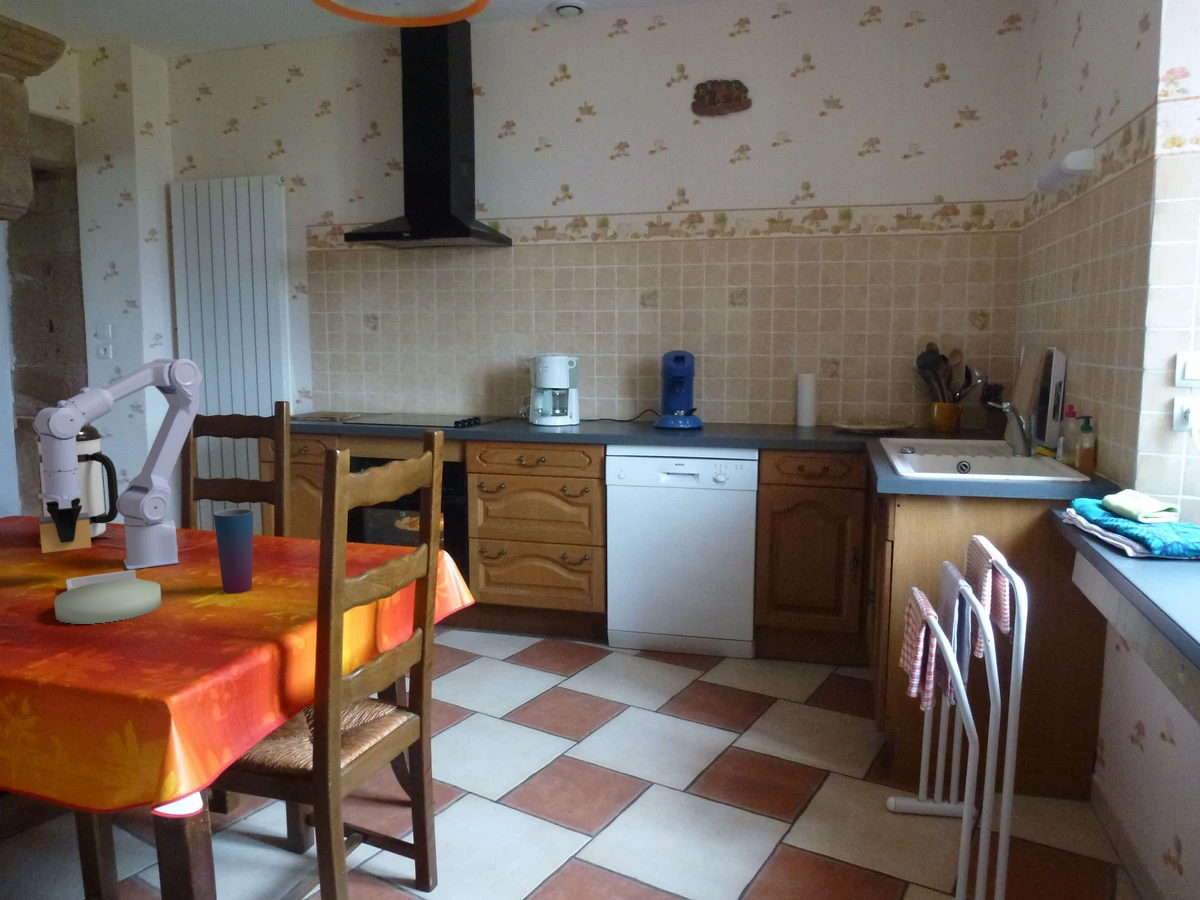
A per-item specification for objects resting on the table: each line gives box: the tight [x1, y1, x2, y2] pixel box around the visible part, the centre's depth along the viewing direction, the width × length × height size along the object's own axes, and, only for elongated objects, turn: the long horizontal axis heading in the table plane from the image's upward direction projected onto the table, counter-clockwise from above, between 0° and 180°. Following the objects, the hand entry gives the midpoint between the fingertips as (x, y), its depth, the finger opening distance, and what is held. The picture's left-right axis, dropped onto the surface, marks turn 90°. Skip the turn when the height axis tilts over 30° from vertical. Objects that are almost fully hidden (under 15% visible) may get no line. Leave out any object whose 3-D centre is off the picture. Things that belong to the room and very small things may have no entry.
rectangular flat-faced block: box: [38, 513, 92, 554], centre depth 162 cm, size 8×4×6 cm, turn 124°
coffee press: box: [34, 424, 119, 546], centre depth 193 cm, size 17×16×30 cm
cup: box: [213, 507, 254, 594], centre depth 158 cm, size 7×7×15 cm
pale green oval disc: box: [54, 569, 162, 625], centre depth 151 cm, size 16×26×3 cm, turn 34°
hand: (66, 539), depth 162 cm, fingers closed on rectangular flat-faced block, 4 cm apart
